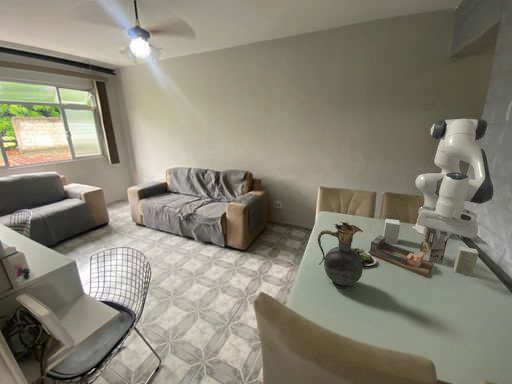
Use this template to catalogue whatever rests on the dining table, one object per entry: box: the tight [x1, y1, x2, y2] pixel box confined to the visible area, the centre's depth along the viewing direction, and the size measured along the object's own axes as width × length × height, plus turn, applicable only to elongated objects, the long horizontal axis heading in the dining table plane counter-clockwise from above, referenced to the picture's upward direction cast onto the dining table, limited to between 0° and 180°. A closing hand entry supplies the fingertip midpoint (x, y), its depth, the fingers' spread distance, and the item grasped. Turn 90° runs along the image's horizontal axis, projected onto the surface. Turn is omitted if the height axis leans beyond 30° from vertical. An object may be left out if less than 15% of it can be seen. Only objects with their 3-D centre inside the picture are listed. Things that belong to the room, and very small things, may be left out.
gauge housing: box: [367, 234, 435, 278], centre depth 111 cm, size 13×26×8 cm, turn 39°
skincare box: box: [453, 245, 479, 277], centre depth 100 cm, size 6×4×12 cm
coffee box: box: [419, 227, 449, 263], centre depth 111 cm, size 9×6×16 cm
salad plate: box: [351, 247, 377, 269], centre depth 115 cm, size 19×18×5 cm
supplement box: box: [382, 218, 401, 245], centre depth 130 cm, size 7×7×13 cm
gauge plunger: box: [406, 251, 425, 267], centre depth 106 cm, size 8×6×5 cm
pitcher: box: [317, 221, 364, 289], centre depth 93 cm, size 11×19×30 cm, turn 65°
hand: (441, 239), depth 96 cm, fingers closed
